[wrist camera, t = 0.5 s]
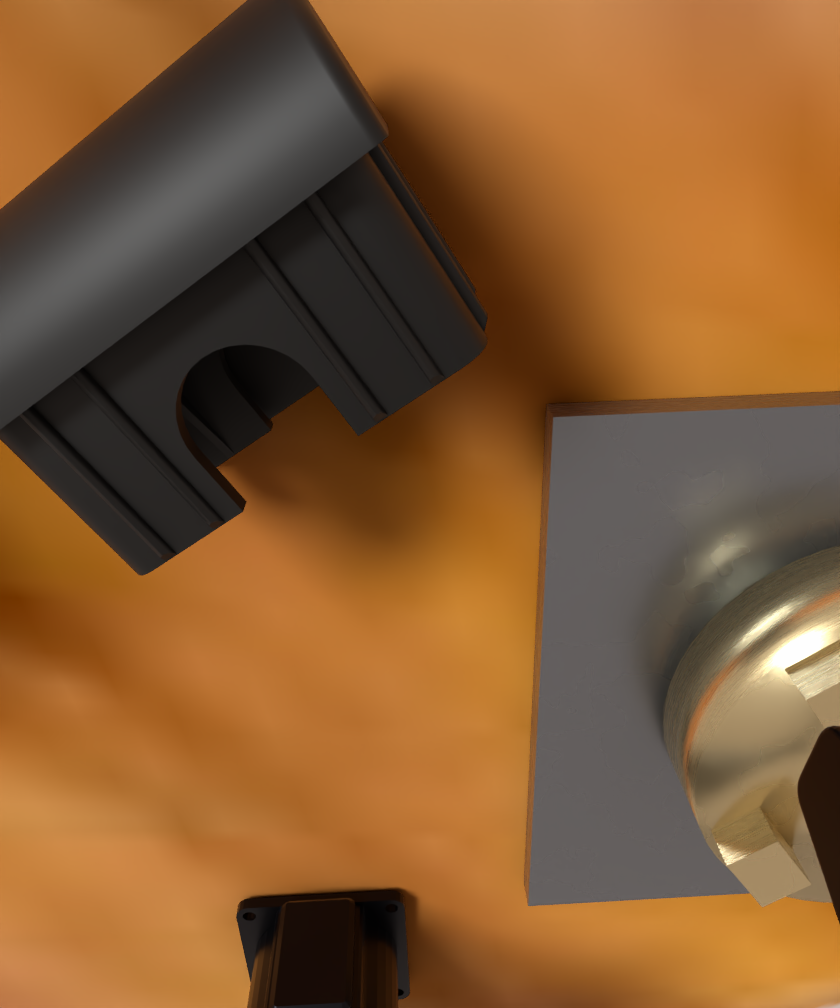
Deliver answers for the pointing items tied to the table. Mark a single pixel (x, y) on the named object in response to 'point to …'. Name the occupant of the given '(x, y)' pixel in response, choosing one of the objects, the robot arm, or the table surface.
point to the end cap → (217, 282)
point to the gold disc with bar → (760, 723)
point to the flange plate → (651, 615)
